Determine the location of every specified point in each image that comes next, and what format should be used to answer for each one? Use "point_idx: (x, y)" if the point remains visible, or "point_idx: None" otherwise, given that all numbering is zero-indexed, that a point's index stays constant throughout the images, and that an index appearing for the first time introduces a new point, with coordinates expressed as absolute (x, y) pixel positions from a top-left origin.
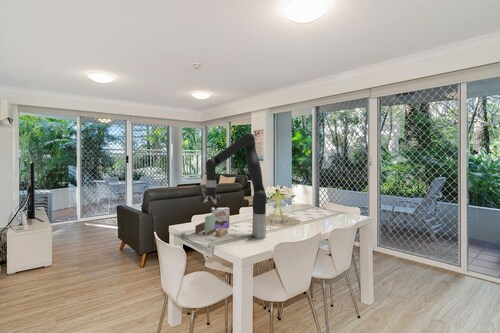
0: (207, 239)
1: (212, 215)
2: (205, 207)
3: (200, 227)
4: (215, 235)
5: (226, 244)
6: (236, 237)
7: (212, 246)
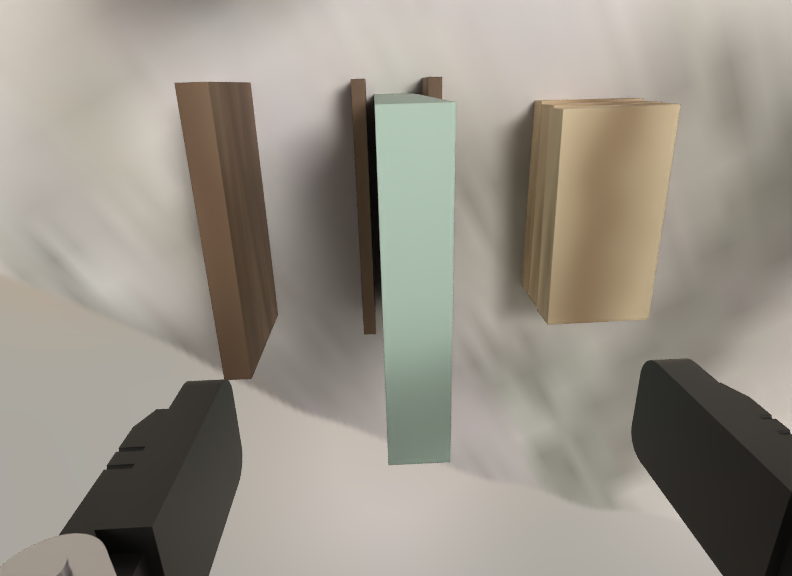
0: (467, 373)
1: (452, 243)
2: (230, 435)
3: (249, 256)
4: (533, 298)
5: None
6: (774, 149)
7: (602, 509)
